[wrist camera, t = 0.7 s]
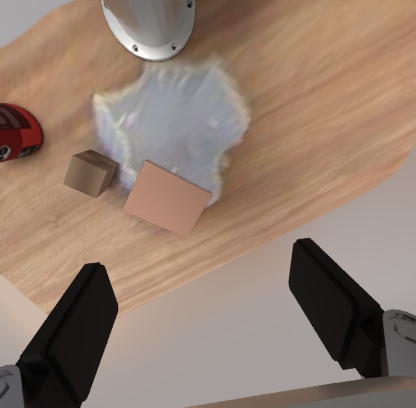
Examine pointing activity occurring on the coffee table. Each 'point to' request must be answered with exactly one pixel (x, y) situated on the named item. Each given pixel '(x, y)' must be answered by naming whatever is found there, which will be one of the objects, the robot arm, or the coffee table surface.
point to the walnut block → (90, 173)
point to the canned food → (17, 133)
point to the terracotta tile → (166, 199)
